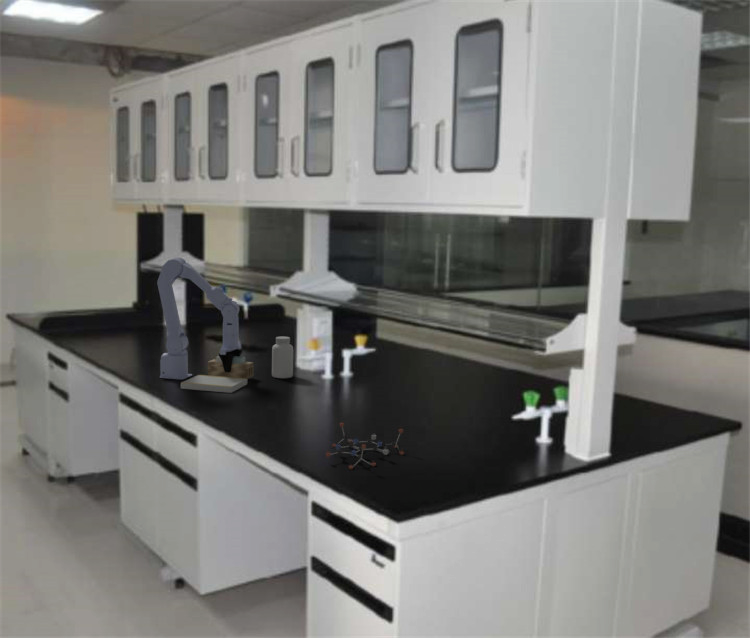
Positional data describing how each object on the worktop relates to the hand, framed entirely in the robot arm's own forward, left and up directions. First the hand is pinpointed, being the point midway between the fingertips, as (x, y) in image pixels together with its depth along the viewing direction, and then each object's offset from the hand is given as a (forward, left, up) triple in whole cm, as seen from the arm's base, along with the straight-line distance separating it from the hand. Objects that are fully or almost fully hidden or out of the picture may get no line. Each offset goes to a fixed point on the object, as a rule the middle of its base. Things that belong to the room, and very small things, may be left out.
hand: (230, 370), depth 299 cm
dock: (0, -14, -3) cm, 14 cm away
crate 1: (-3, 0, +3) cm, 4 cm away
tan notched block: (0, 0, -2) cm, 2 cm away
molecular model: (+69, -72, -4) cm, 100 cm away
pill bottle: (+17, +9, -3) cm, 20 cm away
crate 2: (+3, 0, +3) cm, 4 cm away
